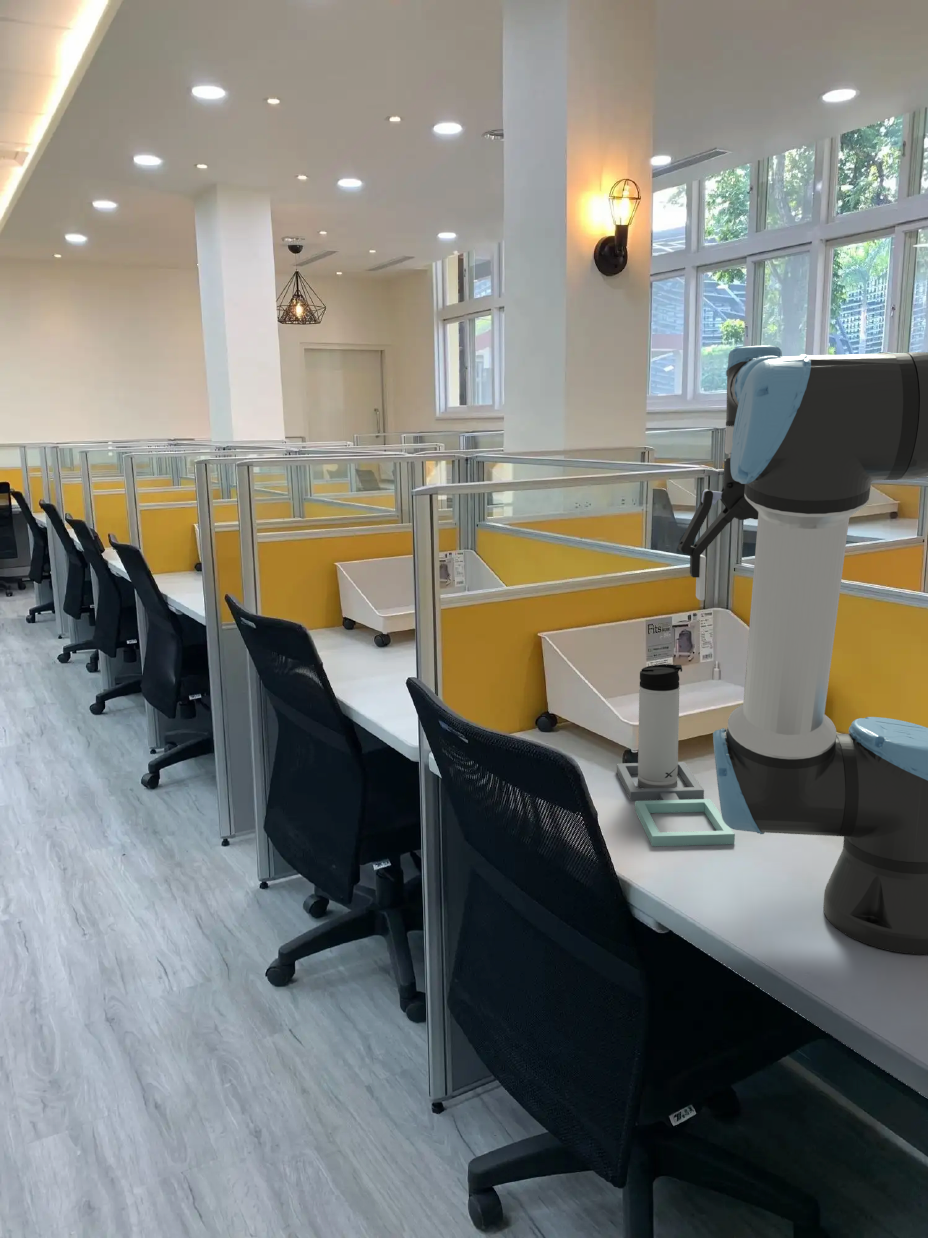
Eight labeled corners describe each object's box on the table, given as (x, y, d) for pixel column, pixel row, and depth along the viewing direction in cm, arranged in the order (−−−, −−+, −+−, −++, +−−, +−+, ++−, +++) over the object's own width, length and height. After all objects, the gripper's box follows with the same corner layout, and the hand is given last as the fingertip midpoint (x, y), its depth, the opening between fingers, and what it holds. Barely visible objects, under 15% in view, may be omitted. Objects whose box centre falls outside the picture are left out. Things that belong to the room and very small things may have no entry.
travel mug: (679, 793, 146) (682, 671, 142) (637, 791, 148) (639, 669, 144) (678, 779, 152) (681, 661, 148) (638, 777, 154) (639, 660, 150)
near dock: (734, 844, 128) (734, 834, 128) (652, 846, 128) (652, 836, 128) (710, 808, 140) (710, 799, 140) (635, 810, 140) (635, 801, 140)
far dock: (710, 808, 140) (710, 799, 140) (635, 810, 140) (635, 801, 140) (684, 770, 156) (684, 761, 156) (616, 772, 156) (616, 763, 156)
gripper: (827, 452, 139) (819, 591, 144) (660, 456, 140) (658, 594, 145) (846, 454, 132) (837, 600, 137) (670, 459, 133) (667, 604, 137)
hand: (745, 597), depth 141 cm, fingers open, 13 cm apart
